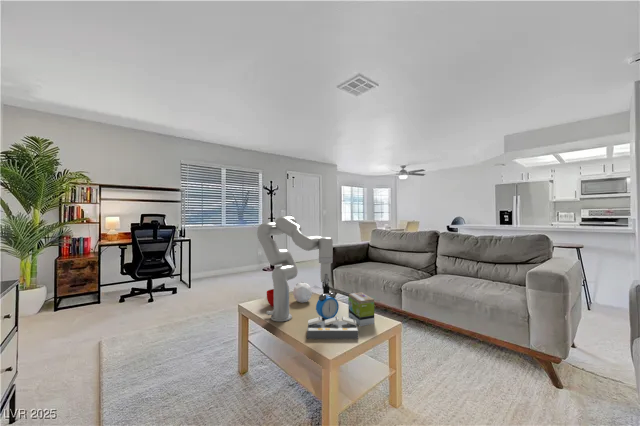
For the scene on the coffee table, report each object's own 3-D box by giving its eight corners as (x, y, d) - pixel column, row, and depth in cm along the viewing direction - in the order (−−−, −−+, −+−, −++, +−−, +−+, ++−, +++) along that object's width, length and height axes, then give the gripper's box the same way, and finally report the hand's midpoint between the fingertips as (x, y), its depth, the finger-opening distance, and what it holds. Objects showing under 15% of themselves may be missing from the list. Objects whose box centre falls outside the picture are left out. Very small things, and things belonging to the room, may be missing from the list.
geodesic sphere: (292, 298, 189) (304, 280, 193) (284, 293, 201) (295, 276, 205) (308, 308, 194) (319, 291, 199) (299, 303, 207) (310, 286, 211)
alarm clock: (320, 321, 163) (320, 296, 163) (315, 318, 169) (315, 293, 169) (339, 317, 170) (339, 293, 170) (333, 314, 175) (333, 290, 175)
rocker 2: (325, 325, 147) (324, 322, 147) (325, 322, 151) (324, 319, 151) (338, 321, 147) (338, 319, 147) (338, 318, 152) (337, 316, 152)
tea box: (347, 317, 171) (347, 293, 171) (362, 315, 174) (362, 291, 174) (359, 326, 157) (359, 300, 157) (375, 324, 160) (375, 298, 160)
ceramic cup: (277, 300, 204) (277, 286, 204) (288, 306, 190) (288, 291, 190) (260, 303, 196) (260, 289, 196) (271, 310, 183) (271, 295, 183)
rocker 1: (308, 325, 147) (307, 322, 147) (308, 322, 151) (308, 319, 151) (322, 321, 147) (321, 319, 147) (321, 318, 151) (321, 316, 151)
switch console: (307, 338, 141) (307, 328, 141) (308, 328, 154) (308, 319, 154) (358, 338, 141) (358, 329, 141) (355, 328, 154) (355, 319, 154)
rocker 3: (342, 321, 147) (343, 319, 147) (341, 318, 152) (342, 316, 152) (355, 325, 147) (356, 322, 147) (354, 322, 152) (355, 319, 152)
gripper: (318, 257, 160) (318, 287, 160) (319, 262, 143) (319, 295, 143) (331, 257, 160) (331, 286, 160) (333, 262, 143) (333, 295, 143)
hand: (325, 291), depth 152 cm, fingers open, 9 cm apart
